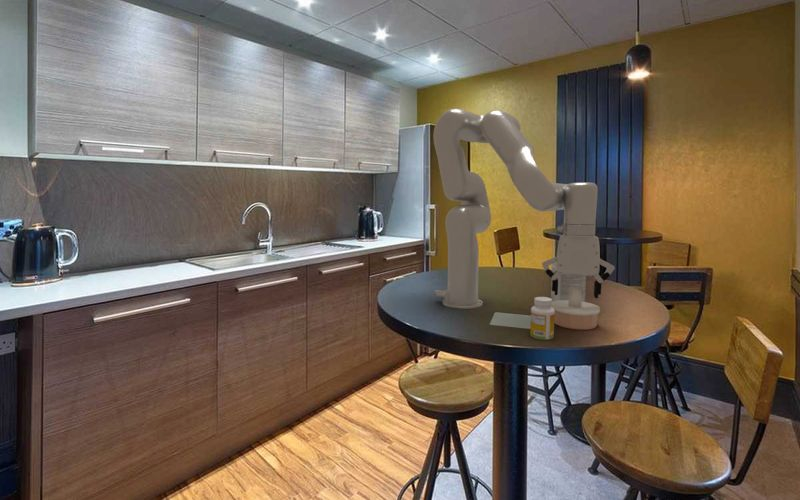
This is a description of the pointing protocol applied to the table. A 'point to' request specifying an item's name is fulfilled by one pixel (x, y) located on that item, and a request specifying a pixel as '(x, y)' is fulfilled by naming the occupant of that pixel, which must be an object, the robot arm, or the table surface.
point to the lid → (575, 304)
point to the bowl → (575, 321)
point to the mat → (511, 320)
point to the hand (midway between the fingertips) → (575, 295)
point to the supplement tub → (567, 285)
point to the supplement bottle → (542, 318)
